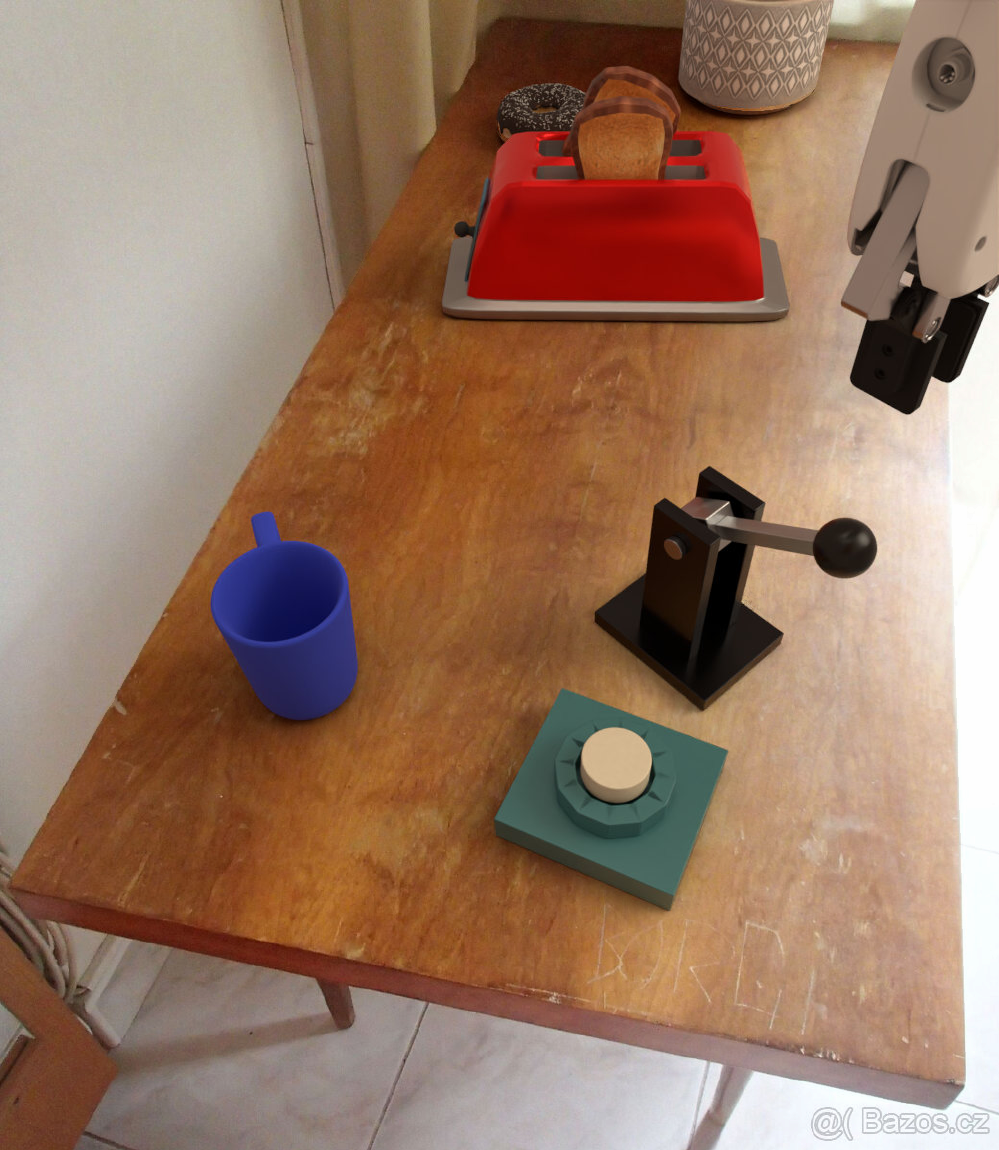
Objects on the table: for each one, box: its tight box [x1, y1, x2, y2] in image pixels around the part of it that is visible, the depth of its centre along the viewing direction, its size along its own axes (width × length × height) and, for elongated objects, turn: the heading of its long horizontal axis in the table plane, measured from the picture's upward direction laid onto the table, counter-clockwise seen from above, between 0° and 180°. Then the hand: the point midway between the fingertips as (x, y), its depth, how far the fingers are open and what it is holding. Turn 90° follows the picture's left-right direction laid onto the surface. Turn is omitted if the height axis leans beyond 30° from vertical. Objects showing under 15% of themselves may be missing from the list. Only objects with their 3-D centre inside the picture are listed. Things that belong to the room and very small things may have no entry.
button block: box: [493, 687, 729, 911], centre depth 59 cm, size 11×10×4 cm
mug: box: [210, 511, 359, 721], centre depth 64 cm, size 8×12×10 cm
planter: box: [677, 0, 835, 116], centre depth 115 cm, size 16×16×13 cm
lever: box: [680, 496, 878, 580], centre depth 56 cm, size 13×3×3 cm
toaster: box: [441, 65, 791, 322], centre depth 88 cm, size 32×13×19 cm, turn 86°
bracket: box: [593, 465, 785, 712], centre depth 63 cm, size 10×8×13 cm
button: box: [581, 727, 652, 803], centre depth 57 cm, size 4×4×2 cm
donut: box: [495, 82, 586, 143], centre depth 113 cm, size 11×12×4 cm
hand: (903, 379), depth 43 cm, fingers closed
